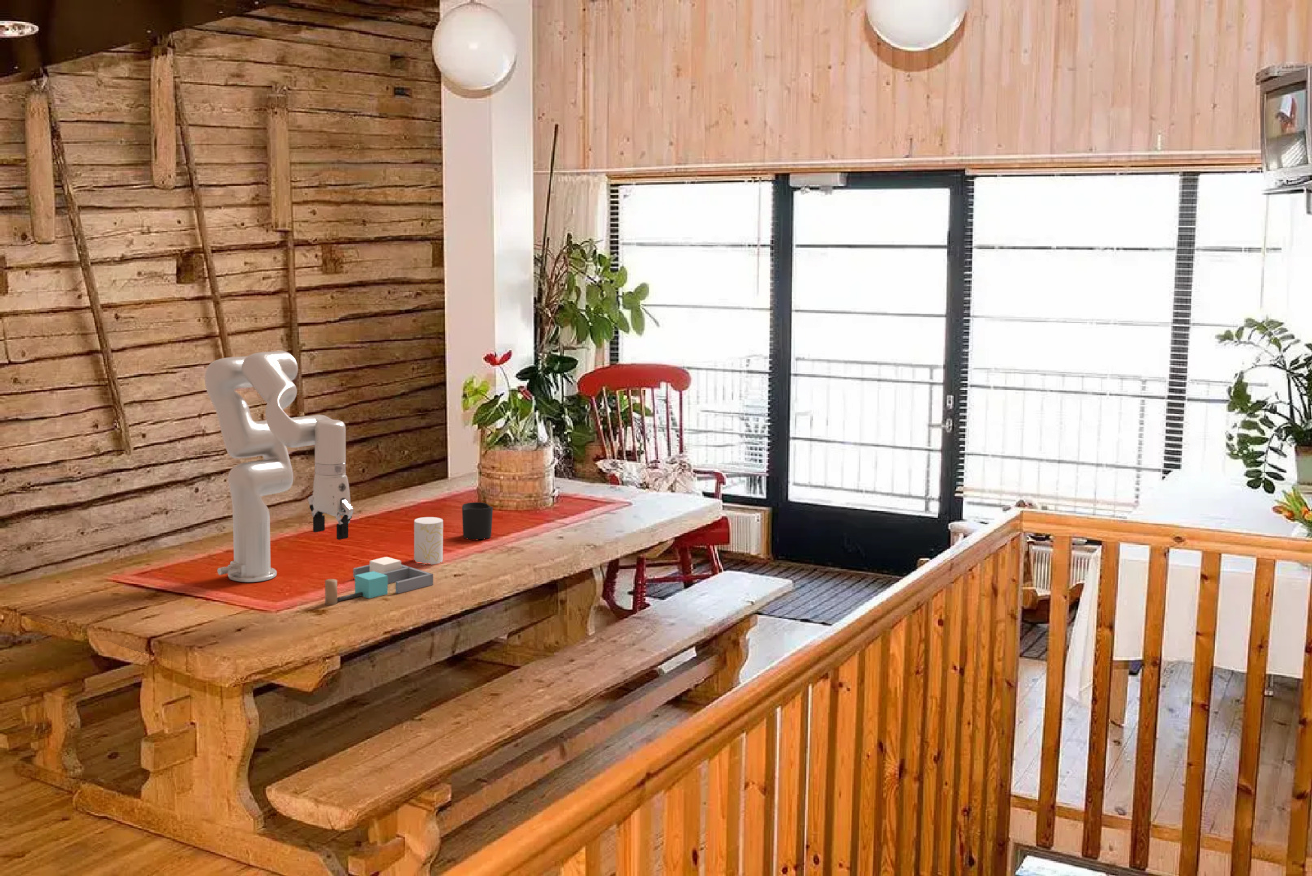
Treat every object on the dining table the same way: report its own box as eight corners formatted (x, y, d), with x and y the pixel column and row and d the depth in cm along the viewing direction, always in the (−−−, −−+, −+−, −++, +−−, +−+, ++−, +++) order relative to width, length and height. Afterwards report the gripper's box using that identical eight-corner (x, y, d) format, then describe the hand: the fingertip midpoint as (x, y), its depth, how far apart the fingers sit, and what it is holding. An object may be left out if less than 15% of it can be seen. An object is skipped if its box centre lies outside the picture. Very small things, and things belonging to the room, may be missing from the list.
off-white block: (384, 582, 353) (384, 564, 353) (369, 578, 357) (369, 560, 356) (401, 578, 358) (401, 560, 357) (386, 574, 362) (386, 556, 361)
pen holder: (496, 534, 409) (496, 503, 407) (487, 541, 400) (487, 510, 398) (467, 532, 410) (467, 501, 409) (457, 539, 401) (458, 507, 400)
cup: (419, 565, 371) (419, 524, 369) (410, 558, 378) (410, 518, 376) (446, 562, 374) (446, 522, 372) (437, 556, 382) (437, 516, 380)
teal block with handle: (333, 606, 330) (333, 584, 329) (319, 601, 334) (319, 579, 333) (387, 594, 343) (387, 571, 342) (373, 589, 347) (373, 567, 346)
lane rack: (398, 593, 343) (398, 582, 343) (353, 578, 355) (353, 568, 355) (433, 584, 353) (433, 574, 352) (388, 570, 364) (388, 560, 364)
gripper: (364, 472, 325) (363, 539, 328) (321, 461, 335) (322, 526, 338) (339, 476, 319) (339, 544, 322) (297, 465, 330) (297, 531, 333)
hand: (330, 535), depth 330 cm, fingers open, 9 cm apart
